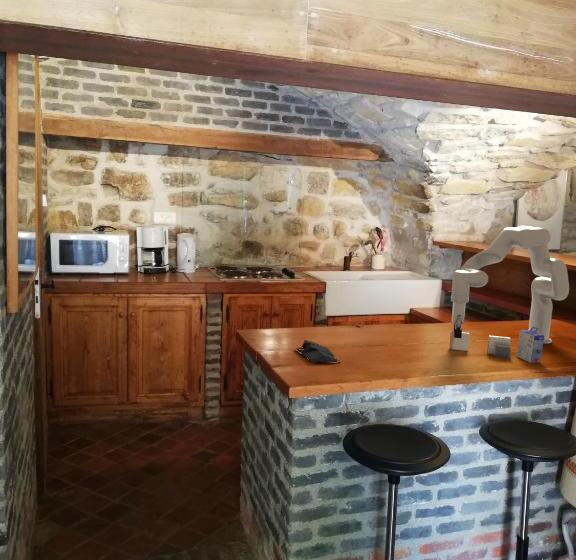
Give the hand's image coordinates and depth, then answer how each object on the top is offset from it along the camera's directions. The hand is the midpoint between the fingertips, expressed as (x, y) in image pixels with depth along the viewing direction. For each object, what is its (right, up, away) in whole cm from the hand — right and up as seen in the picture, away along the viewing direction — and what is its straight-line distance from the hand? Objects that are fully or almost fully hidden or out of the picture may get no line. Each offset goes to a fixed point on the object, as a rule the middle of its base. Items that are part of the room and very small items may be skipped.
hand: (457, 334), depth 256 cm
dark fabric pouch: (-64, -8, -17) cm, 67 cm away
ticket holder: (+17, -8, -4) cm, 19 cm away
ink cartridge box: (+28, -10, -10) cm, 31 cm away
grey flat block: (+1, -7, 0) cm, 7 cm away
